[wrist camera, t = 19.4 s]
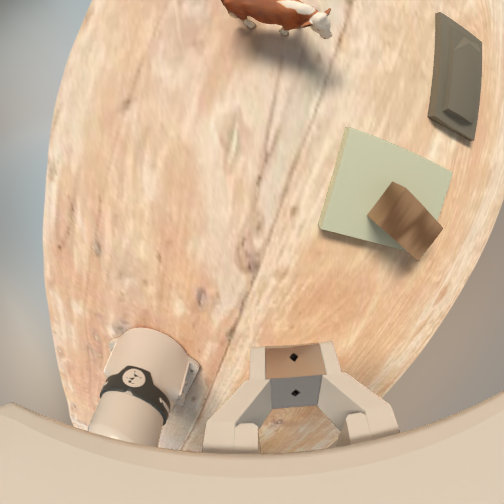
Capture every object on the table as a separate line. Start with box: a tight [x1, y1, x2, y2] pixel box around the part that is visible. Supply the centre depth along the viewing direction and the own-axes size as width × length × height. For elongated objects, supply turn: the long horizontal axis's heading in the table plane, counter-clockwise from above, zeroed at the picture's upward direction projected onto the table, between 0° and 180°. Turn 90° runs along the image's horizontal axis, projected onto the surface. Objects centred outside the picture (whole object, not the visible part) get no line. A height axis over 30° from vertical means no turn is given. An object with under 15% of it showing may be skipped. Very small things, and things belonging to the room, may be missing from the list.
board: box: [318, 127, 453, 255], centre depth 35 cm, size 14×18×2 cm
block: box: [367, 181, 443, 261], centre depth 33 cm, size 6×4×9 cm
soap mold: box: [428, 12, 482, 141], centre depth 26 cm, size 10×20×4 cm, turn 169°
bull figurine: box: [221, 0, 332, 39], centre depth 23 cm, size 4×13×8 cm, turn 68°
